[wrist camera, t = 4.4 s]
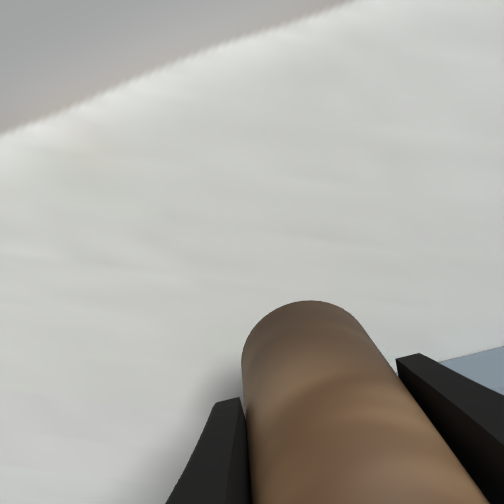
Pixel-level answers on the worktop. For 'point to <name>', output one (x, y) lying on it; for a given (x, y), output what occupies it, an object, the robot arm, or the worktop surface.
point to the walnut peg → (338, 418)
